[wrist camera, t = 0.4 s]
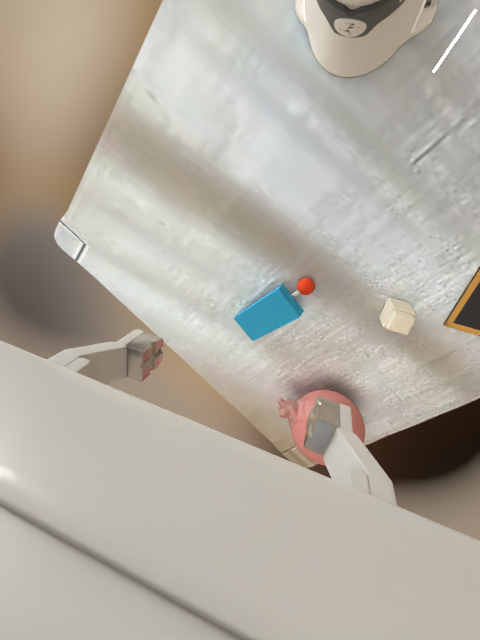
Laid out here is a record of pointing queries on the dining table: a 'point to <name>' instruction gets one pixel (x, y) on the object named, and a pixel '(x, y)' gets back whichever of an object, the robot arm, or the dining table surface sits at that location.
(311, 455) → the balloon
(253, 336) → the lever
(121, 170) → the dining table surface
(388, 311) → the stepped beige block
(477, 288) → the centre mat
